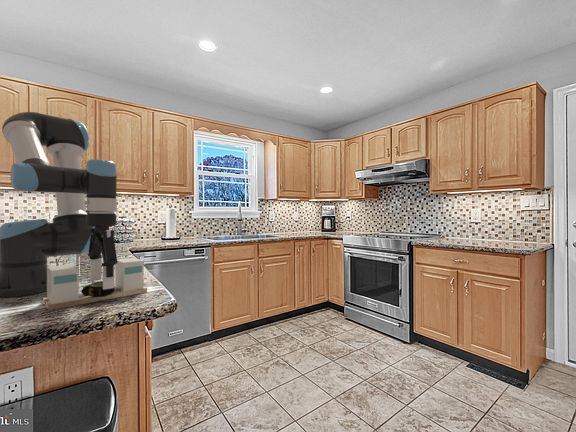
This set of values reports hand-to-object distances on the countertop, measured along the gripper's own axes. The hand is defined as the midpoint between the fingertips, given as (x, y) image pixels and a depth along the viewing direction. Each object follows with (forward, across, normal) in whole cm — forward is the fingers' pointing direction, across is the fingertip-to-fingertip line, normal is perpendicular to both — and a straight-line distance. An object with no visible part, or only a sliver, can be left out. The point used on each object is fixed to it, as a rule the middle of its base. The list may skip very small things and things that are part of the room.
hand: (101, 284), depth 87 cm
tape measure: (+3, 0, -1) cm, 4 cm away
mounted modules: (+3, -4, 0) cm, 5 cm away
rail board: (+4, -4, 0) cm, 6 cm away
